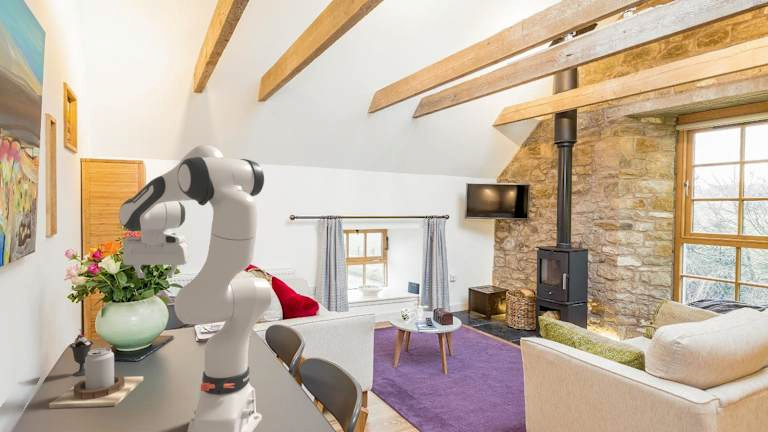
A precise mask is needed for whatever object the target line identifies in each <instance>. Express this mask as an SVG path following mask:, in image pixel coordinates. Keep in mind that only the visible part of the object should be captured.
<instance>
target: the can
mask: <svg viewBox="0 0 768 432" xmlns="http://www.w3.org/2000/svg"><path fill="white" fill-rule="evenodd" d="M87 354H88V355H87V356H86V358H85V363H84V369H85V375H84V377H85V378H84V379H85V389H86V390H97V389H102V388H106V387H109V386H111V385H114V374H115V353H114V352H113V351H112V348H110V347H100V348H95V349H92V350H91V349H90V351H89V352H88V353H87Z"/></svg>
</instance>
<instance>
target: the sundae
mask: <svg viewBox="0 0 768 432" xmlns="http://www.w3.org/2000/svg"><path fill="white" fill-rule="evenodd" d="M79 331H80V333H79V334H78V335H77V337H76V338H75V339H74V342H73V343H71V344H70V345H69V348H71V349H72V353H73V360H74V361H75V363H77V364H79V369H78V371H75V372H73V374H72V375H73V376H74V377H83V376H85V358H86V356H87V355H88V354H87V353H88V352H89V351H91V347H92V345H94V342H93V341H92V340H88V338H86V336H84V335H83V332H82V328H79Z"/></svg>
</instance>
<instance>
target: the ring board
mask: <svg viewBox="0 0 768 432" xmlns="http://www.w3.org/2000/svg"><path fill="white" fill-rule="evenodd" d="M143 381H144V375H143V376H141V375H140V376H123V375H121V374H117V373H114V385H111V386H109V387H106V388H102V389H97V390H86V389H85V378H83V379H81V380H80V381H79V382H77V383H76V384H74V385H73V386H72V387H71V388H69V389H68V390H66V391H65V392H64V393H62V394H61V395H60V396H58V397H56V398H55V399H54V400H52V401H51V402H49V404H48V408H49V409H61V408H66V409H67V408H92V407H93V408H95V407H98V408H99V407H117V405H118V404H119V403H121V401H122V400H123V399H125V398H126V397H127V396H128V395H129V394H130V393H131V392H132V391H133V390H134V389H135V388H137V387H138V385H140V384H141V383H142V382H143Z"/></svg>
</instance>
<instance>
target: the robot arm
mask: <svg viewBox="0 0 768 432" xmlns="http://www.w3.org/2000/svg"><path fill="white" fill-rule="evenodd" d="M264 185H265V174H264V171H263V168H262V167H261V165H260V164H259V163H258V162H256V161H253V160H251V159H246V158H241V159H240V158H234V157H233V158H232V157H225V156H224V154H223V153H222V152H221V151H220V150H219V149H218V148H217V147H215V146H213V145H209V144H200V145H197V146H195V147H194V148H192V149H191V150H190V151H189V152H188V153H186V154H185V155H184V156H183V158H182V159H181V160H180V161H179V163H178V164H177V165H176V166H175V167H173V168H172V169H171V170H169V171H166V172H165V173H163V174H161V175H160V176H157V177H155V178H153V179H152V180H150V181H149V182H148V183H147V184H146V185H145V186H144V187H142V188H141V190H140V191H138V192H137V194H135V195H134V196H133V197H131V198H128V199H127V200H125V201H124V202H123V203H122V204H121V205H120V208H119V212H118V213H119V214H118V217H119V222H120V224H121V225H122V226H123V227H124V228H125V229H126V230H128V231H129V232H134V233H135V232H140V236H139V237H138V236H137V237H133V236H129V237H126V238H125V239H124V240H123V243H122V248H123V252H122V253H123V254H122V263H123V264H124V265H125V266H134V270H135V271H136V273H137V275H138V276H137V278H138V279H144V278H146V276H145V275H146V272H143V271H142V269H141V268H142V266H170V268H171V270H170V271H169V272H167V278H168V279H174V278H175V272H176V270H177V269H178V266H184V265H186V264H188V262H189V259H190V258H189V257H190V256H189V248H188V245H187V244H186V243H185V241H186V236H185V235H183V234H180V233H176V232H173V231H171V230H174V229H178V228H180V227H181V226H182V225H183V224H184V223H185V220H186V209H185V206H184V205H183V204H182V203H181V201H184V202H185V201H196V202H197V203H198V205H200V206H205V205H207V203H208V202H209V204H210V205H211V207H212V209H213V211H212V212H213V213H212V214H213V215H212V222H211V229H210V231H211V232H210V239H209V246H208V250H207V251H208V252H207V257H206V260H205V262H204V264H203V266H202V268H201V269H200V271H199V272H198V273H197V274H196V275H195V277H194V278H193V279H192V280H191V281H190V282H188V283H187V284H186V285H184V286H182V288H180V289H179V290H178V292H177V293H176V296H175V298H174V305H173V307H174V312H175V314H176V316H177V318H178V319H179V321H180V322H182V323H183V324H185V325H208V324H214V323H219V322H224V324H223V325H222V327H221V328H220V329H219V330H218V331H217V332H216V333H214V334H213V335H212V336H210V337H209V338H208V340H207V341H206V343H205V346H204V371H203V372H202V378H201V384H200V390H198V400H197V404H196V409H195V410H194V412H193V413H194V416H191V418H190V420H189V424H188V427H187V432H254V431H255V429H257V426H258V425H259V424H260V423H261V421H262V419H263V416H262V414H261V413H259V412H257V410H256V409H257V408H256V407H257V406H256V389H255V388H254V387H253V386H252V385H251V383H250V372H251V371H250V367H249V365H248V364H249V361H248V360H249V359H248V357H249V346H250V345H249V344H250V338H251V335H252V332H253V331H254V328H255V327H256V326H255V325H257V323H258V321H259V320H260V318H261V317H262V316H263V315H264V314H265V313H266V312H267V311H268V310H269V309H270V307H271V305H272V303H273V301H274V299H273V298H274V291H273V287H272V285H271V284H270V283H269V281H268V280H267V279H265V278H263V277H253V276H246V277H245V276H244V277H236V276H237V275H239V274H240V273H241V272H244V271H245V270H246V269H247V268H249V266H250V265H251V264H252V261H253V259H254V252H255V244H256V236H257V224H258V223H257V221H258V218H257V217H258V214H257V213H258V212H257V210H258V209H257V203H256V200H255V198H254V197H255V196H258V195H259V194H260V193H261V192H262V190H263V187H264Z"/></svg>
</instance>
